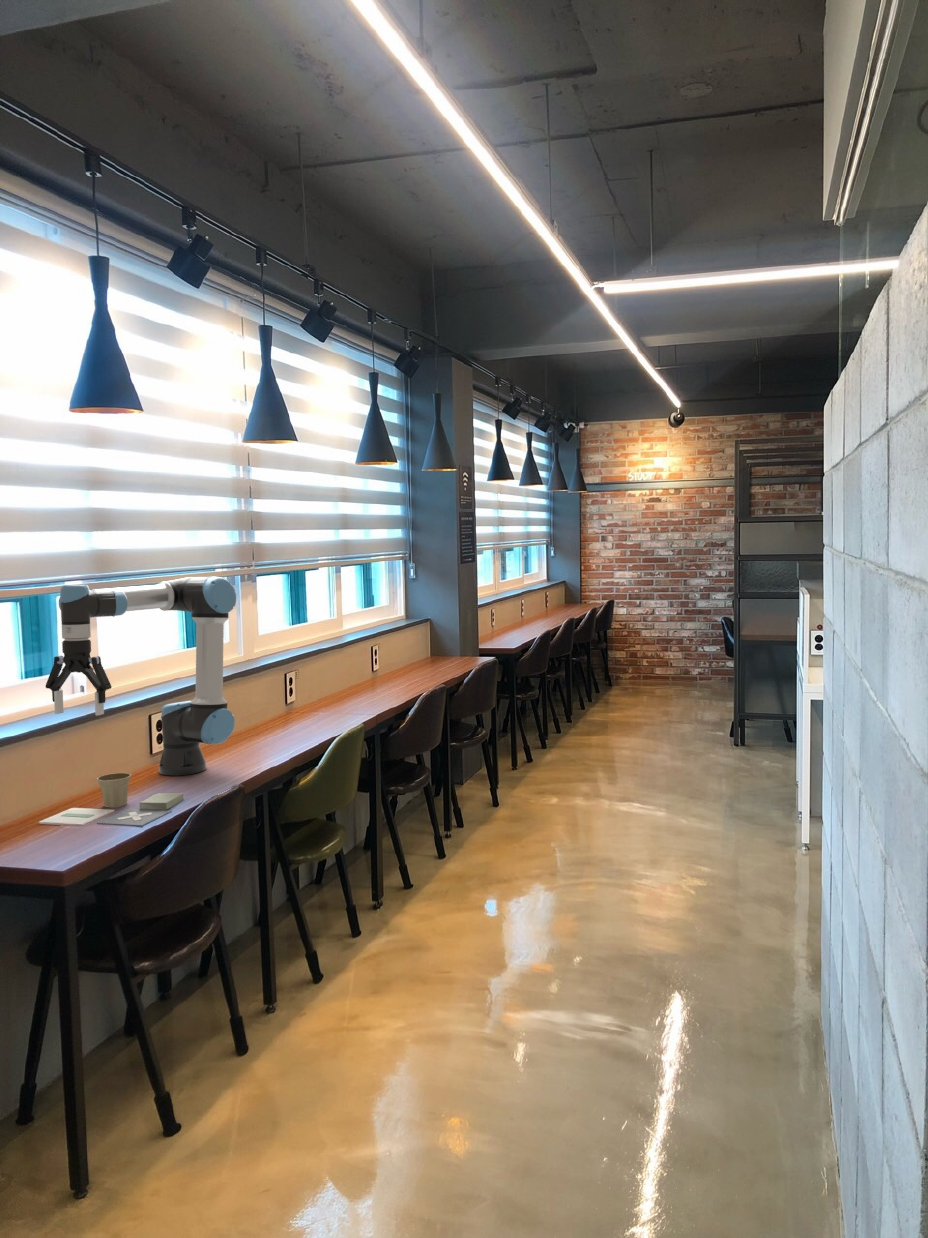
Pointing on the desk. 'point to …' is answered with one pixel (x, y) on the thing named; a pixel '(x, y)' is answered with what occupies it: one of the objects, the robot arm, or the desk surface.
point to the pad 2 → (134, 817)
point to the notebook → (161, 801)
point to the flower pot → (114, 789)
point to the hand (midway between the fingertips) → (79, 714)
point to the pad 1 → (76, 816)
